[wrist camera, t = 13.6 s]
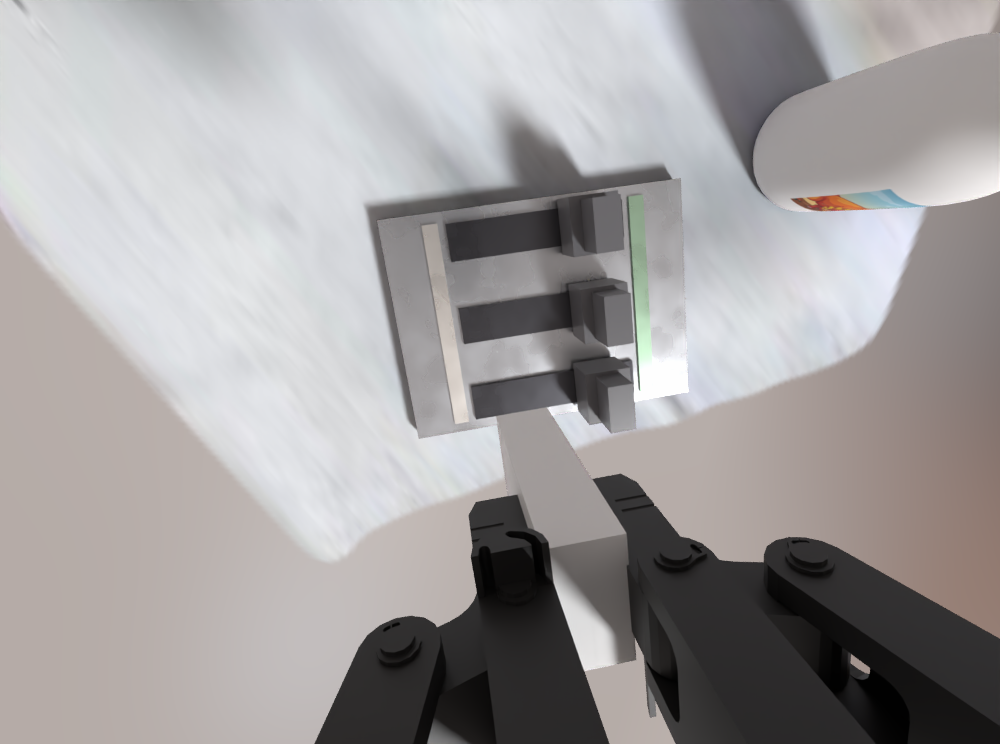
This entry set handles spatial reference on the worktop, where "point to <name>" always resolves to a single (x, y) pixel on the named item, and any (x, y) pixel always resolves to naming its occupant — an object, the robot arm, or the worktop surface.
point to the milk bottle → (889, 134)
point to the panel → (528, 305)
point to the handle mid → (602, 312)
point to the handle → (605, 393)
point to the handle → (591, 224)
